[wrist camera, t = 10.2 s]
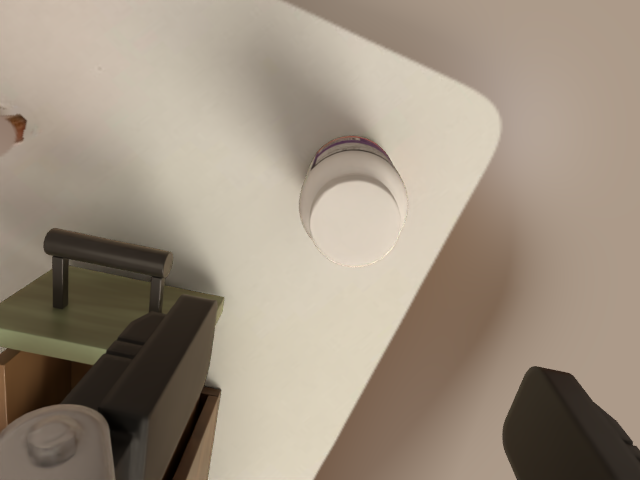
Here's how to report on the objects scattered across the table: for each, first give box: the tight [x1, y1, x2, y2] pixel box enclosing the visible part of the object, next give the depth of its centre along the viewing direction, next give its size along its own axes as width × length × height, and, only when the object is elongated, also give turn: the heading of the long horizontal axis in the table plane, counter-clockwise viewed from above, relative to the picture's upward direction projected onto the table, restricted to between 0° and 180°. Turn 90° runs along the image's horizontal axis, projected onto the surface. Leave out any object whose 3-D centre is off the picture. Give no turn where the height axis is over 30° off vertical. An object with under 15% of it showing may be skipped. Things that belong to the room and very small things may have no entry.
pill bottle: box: [299, 136, 408, 267], centre depth 24 cm, size 5×5×10 cm
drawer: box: [0, 228, 224, 480], centre depth 29 cm, size 18×11×8 cm, turn 169°
